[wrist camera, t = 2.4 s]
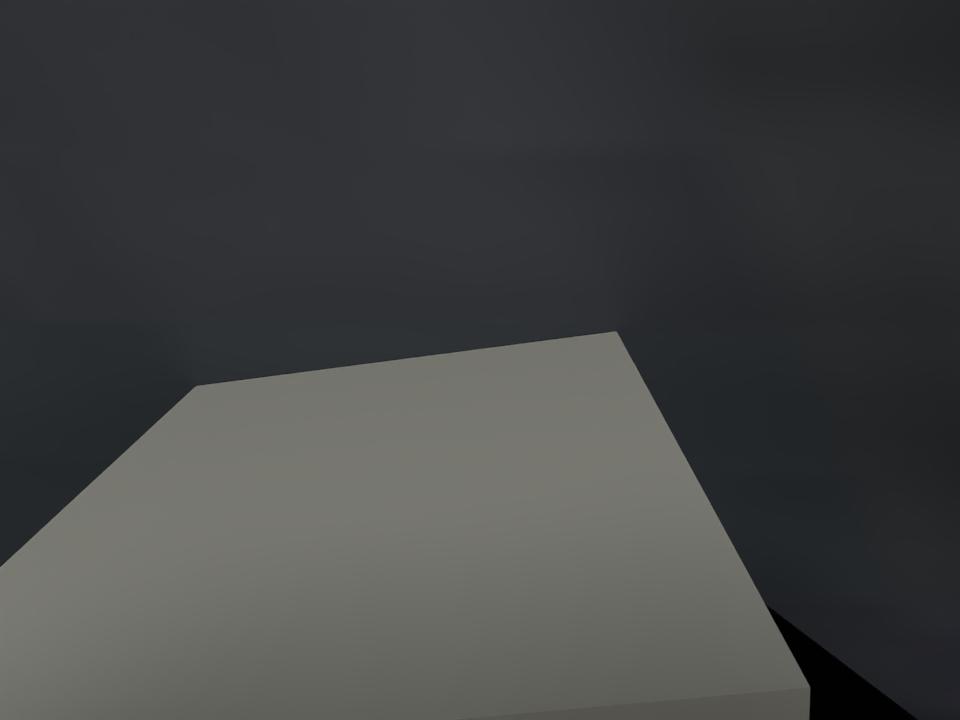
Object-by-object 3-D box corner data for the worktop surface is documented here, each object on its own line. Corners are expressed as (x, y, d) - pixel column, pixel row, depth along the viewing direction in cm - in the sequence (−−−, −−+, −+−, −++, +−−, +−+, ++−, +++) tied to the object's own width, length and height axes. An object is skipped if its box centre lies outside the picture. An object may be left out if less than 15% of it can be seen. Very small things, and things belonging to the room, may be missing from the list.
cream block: (616, 331, 8) (809, 687, 3) (642, 667, 9) (790, 1229, 5) (196, 385, 8) (-234, 783, 3) (296, 700, 10) (110, 1252, 5)
